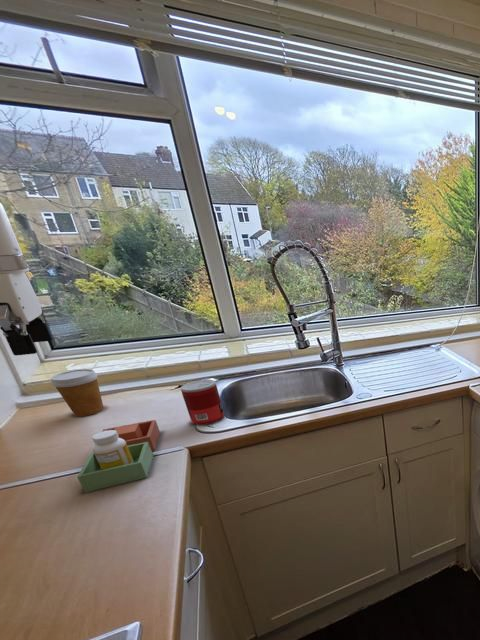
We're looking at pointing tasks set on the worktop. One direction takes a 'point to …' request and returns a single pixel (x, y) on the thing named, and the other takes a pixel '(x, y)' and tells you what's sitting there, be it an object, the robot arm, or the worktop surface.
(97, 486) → the green bin
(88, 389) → the disposable coffee cup
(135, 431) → the terracotta block
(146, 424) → the terracotta bin
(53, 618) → the worktop surface
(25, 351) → the robot arm
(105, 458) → the supplement bottle
